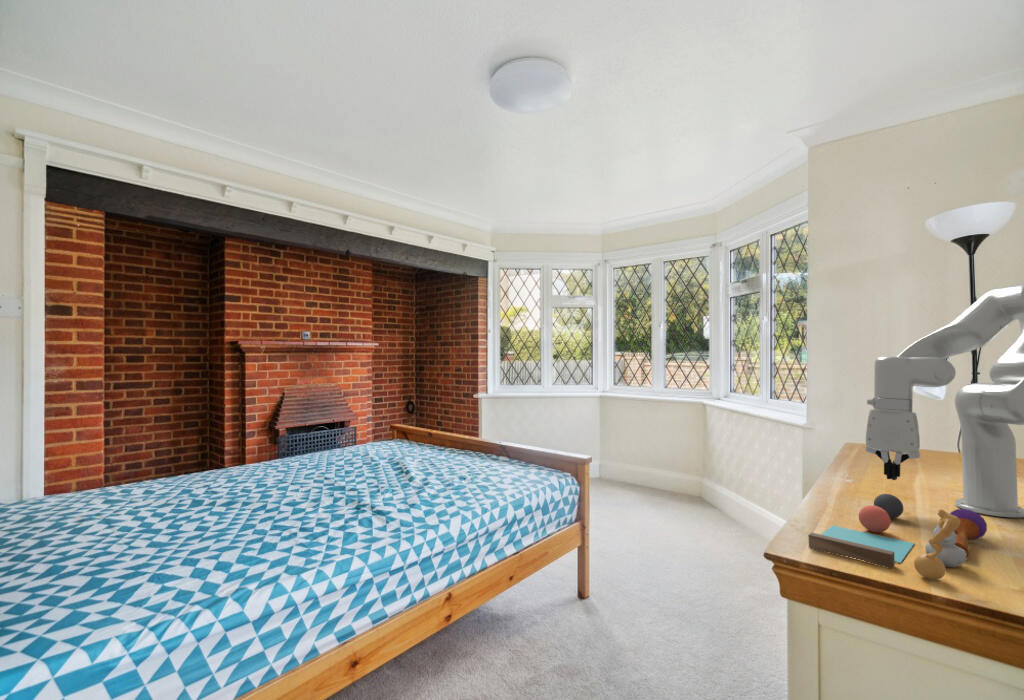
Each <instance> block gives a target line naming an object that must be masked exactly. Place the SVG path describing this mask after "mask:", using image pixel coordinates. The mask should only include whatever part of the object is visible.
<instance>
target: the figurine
mask: <svg viewBox="0 0 1024 700" xmlns="http://www.w3.org/2000/svg"><path fill="white" fill-rule="evenodd" d="M936 514H937V516H938V517H940V519H939V522H938V525H940V531H939V532H938V533H937V534H936V535H935V536H934V537H933V536H932V537H931V538H929V539H928V542H929V544H930V545H931V546H932V547H933V549H934V550H936V552H934V553H929V554H926V553H922V554H919V555H917V556H916V557H915V559H914V561H913V565H914V568H915V570H916V572H917V573H918V574H919V575H920V576H922V577H923V578H925V579H927V580H934V581H936V580H940V579H942V578H944V576H945V574H946V566H944V564H943V562H942V561H941V560H940V559H939V558H937V555H938V554H939V553H940V552H941V551H942V545H941V544H939V542H942V541H943V540H944V539H946V538H947V537H948V536H950V535H951V534H952V532H953V531H955V530H956V529H957V528H958V527H959V525H960V519H959V518H958V517H956V516H954V515H951V514H950V512H947V511H945V510H944V509H942V508H941V509H938V512H937V513H936ZM934 544H935V545H934Z"/></svg>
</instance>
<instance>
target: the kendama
mask: <svg viewBox="0 0 1024 700" xmlns="http://www.w3.org/2000/svg"><path fill="white" fill-rule="evenodd" d="M949 514H951V515H954V516H956V517H958V518H959V519H960V525H959V527H958V528H957V529H956V530H955V531H954V532H955V534H956V543H955V546H958V547H959V548H961V549H963V550H964V551H965V552H966V554H967V556H966V560H968V558H969V556H970V550H969V541H968V540H979V539H980V538H982V537H984V536H985V535H986V533H987V531H988V525H987V522H986V521H985V518H984V517H983V516H981V514H980V513H976V512H974V511H971V510H967V509H962V508H958V509H955V510H953V511H951V512H949Z"/></svg>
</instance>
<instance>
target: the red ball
mask: <svg viewBox="0 0 1024 700" xmlns="http://www.w3.org/2000/svg"><path fill="white" fill-rule="evenodd" d="M858 520H859V523H860V524H861V526H863V527H864V528H865V529H867V531H870V532H873V533H882V532H885V531H887V530H888V529H889V528H890V526H891V518H890V517H889V515H888V513H887V512H886V511H885V510H884V509H882V508H880V507H878V506H874V504H872V505H866V506H864V507H862V508H861V509H860V510H859V513H858Z"/></svg>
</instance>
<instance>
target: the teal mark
mask: <svg viewBox="0 0 1024 700" xmlns="http://www.w3.org/2000/svg"><path fill="white" fill-rule="evenodd" d="M821 535H825V536H829V537H833V538H838V539H842V540H846V541H850V542H855V543H859V544H863V545H867V546H872V547H876V548H880V549H885V550H889V551H893V552H894V560H895V563H896V562H898V563H897V564H900V563H901V564H902V563H903V561H904V560H905V558H906V557H907V555H908V554H909V552H910V551H911V550H912V548H913V547H914V545H915V543H914V542H912V541H911V542H909V541H906V540H901V539H896V538H892V537H887V536H883V535H878V534H874V533H869V532H866V531H865V532H864V531H860V530H855V529H852V528H846V527H841V526H838V525H831V526H830V527H828V529H826V530H825V531H823V532H821ZM905 556H906V557H905ZM902 560H903V561H902Z"/></svg>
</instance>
